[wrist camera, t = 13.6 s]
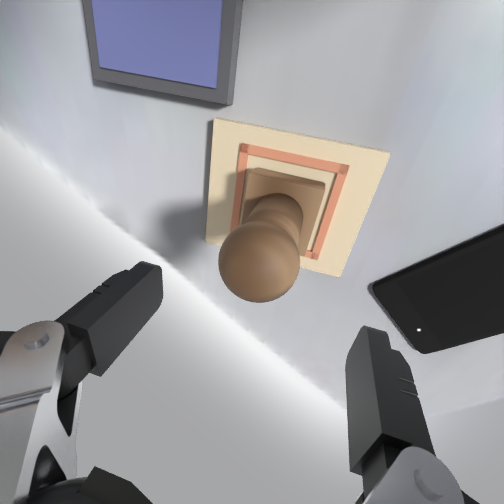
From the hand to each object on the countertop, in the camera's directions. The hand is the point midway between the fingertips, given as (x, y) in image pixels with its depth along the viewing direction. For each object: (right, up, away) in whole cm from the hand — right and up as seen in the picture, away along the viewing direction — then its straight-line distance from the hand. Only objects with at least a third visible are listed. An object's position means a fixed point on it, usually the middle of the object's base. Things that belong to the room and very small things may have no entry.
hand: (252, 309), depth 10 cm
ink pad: (-6, +17, +7) cm, 19 cm away
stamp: (+2, +6, +10) cm, 12 cm away
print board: (+3, +6, +11) cm, 12 cm away
